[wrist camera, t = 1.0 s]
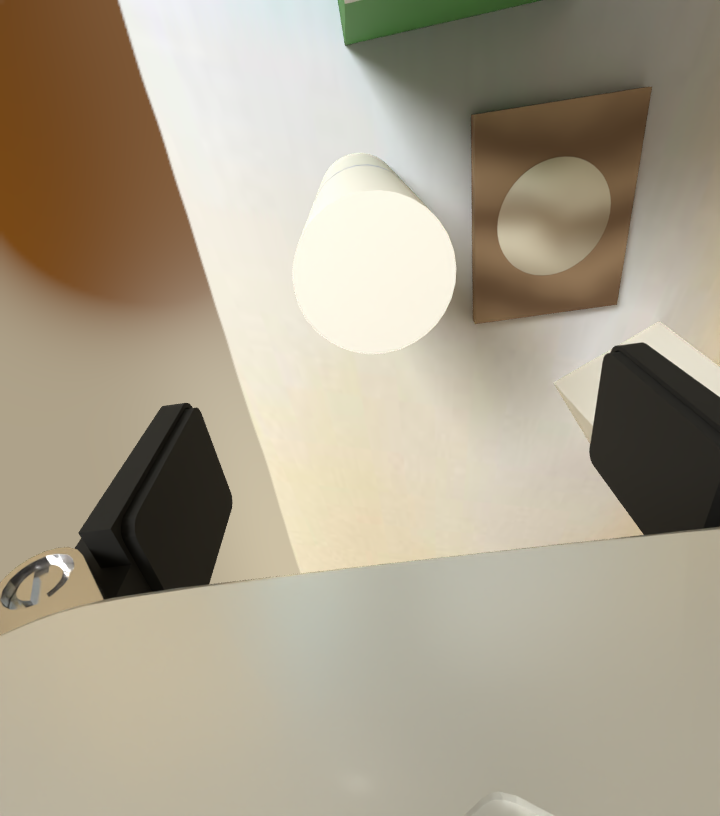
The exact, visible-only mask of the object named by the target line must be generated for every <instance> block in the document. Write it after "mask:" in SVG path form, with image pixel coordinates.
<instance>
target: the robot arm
mask: <svg viewBox="0 0 720 816" xmlns="http://www.w3.org/2000/svg"><path fill="white" fill-rule="evenodd" d="M589 452H590V458H591V461H592V464H593V465H594V467H595V468H596V470H597V471H598V472H599V474H600V475H601V476H602V478H603V479H604V481H605V482H606V483H607V485H608V486H609V487H610V489H611V490H612V492H613V493H614V494H615V496H616V497H617V498H618V500H619V501H620V503H621V504H622V505H623V507H624V508H625V509H626V511H627V512H628V513H629V515H630V516H631V518H632V519H633V520H634V522H635V523H636V524H637V526H638V527H639V529H640V530H641V531H642V533H643V534H644V535H640V536H630V537H621V538H612V539H603V540H593V541H584V542H575V543H566V544H557V545H548V546H539V547H530V548H521V549H512V550H504V551H495V552H486V553H477V554H468V555H459V556H450V557H441V558H432V559H423V560H415V561H406V562H397V563H388V564H380V565H371V566H362V567H353V568H345V569H336V570H327V571H318V572H310V573H301V574H293V575H284V576H276V577H268V578H259V579H251V580H242V581H233V582H225V583H218V584H209V583H210V579H211V576H212V573H213V569H214V566H215V563H216V559H217V556H218V553H219V549H220V546H221V543H222V539H223V536H224V533H225V529H226V526H227V523H228V519H229V516H230V513H231V509H232V495H231V492H230V489H229V487H228V484H227V481H226V478H225V476H224V473H223V470H222V468H221V465H220V463H219V460H218V457H217V454H216V452H215V449H214V446H213V443H212V441H211V438H210V435H209V433H208V430H207V428H206V425H205V422H204V420H203V417H202V414H201V412H200V410H199V409H198V408H192V406H191V405H190V404H188V403H182V404H175V405H167V406H162V407H161V408H160V410H159V411H158V413H157V415H156V416H155V417H154V419H153V420H152V422H151V423H150V425H149V427H148V428H147V430H146V431H145V433H144V434H143V436H142V437H141V439H140V440H139V442H138V443H137V445H136V446H135V448H134V449H133V451H132V452H131V454H130V455H129V457H128V458H127V460H126V462H125V463H124V464H123V466H122V468H121V469H120V470H119V472H118V473H117V475H116V477H115V478H114V480H113V481H112V483H111V484H110V486H109V487H108V489H107V490H106V492H105V493H104V495H103V496H102V498H101V499H100V501H99V502H98V504H97V506H96V507H95V508H94V510H93V511H92V513H91V515H90V516H89V518H88V519H87V521H86V522H85V524H84V525H83V527H82V528H81V530H80V531H79V535H80V536H81V540H80V541H79V543H78V544H77V546H76V547H75V549H73V548H70V547H64V548H55V549H52V550H48V551H44V552H42V553H40V554H38V555H36V556H33V557H31V558H30V559H28V560H26V561H25V562H23V563H22V564H20V565H19V566H17V567H16V568H15V569H14V570H12V571H11V572H10V573H9V574H8V575H7V576H6V577H5V578H4V579H3V580H2V581H1V582H0V816H720V397H719V396H718V395H716V394H715V393H714V392H712V391H711V390H709V389H708V388H707V387H705V386H704V385H703V384H701V383H700V382H698V381H697V380H696V379H694V378H693V377H691V376H690V375H689V374H687V373H686V372H685V371H683V370H682V369H680V368H679V367H678V366H676V365H675V364H674V363H672V362H671V361H669V360H668V359H667V358H665V357H664V356H663V355H661V354H660V353H658V352H657V351H656V350H654V349H653V348H651V347H650V346H649V345H647V344H646V343H643V342H641V343H633V344H626V345H618V346H615V347H613V348H612V350H611V352H610V353H607V354H606V355H605V356H604V358H603V362H602V369H601V376H600V382H599V389H598V396H597V402H596V409H595V416H594V422H593V429H592V436H591V442H590V451H589Z"/></svg>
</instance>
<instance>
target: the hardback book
mask: <svg viewBox="0 0 720 816" xmlns="http://www.w3.org/2000/svg"><path fill="white" fill-rule="evenodd" d="M537 1H541V0H338V5H339V11H340V17H341V24H342V30H343V36H344V43H345V45H349V44H353V43H358V42H362V41H366V40H371V39H375V38H379V37H384V36H388V35H393V34H397V33H401V32H406V31H410V30H414V29H419V28H423V27H427V26H432V25H436V24H441V23H445V22H449V21H454V20H458V19H462V18H467V17H471V16H475V15H480V14H484V13H489V12H493V11H497V10H502V9H506V8H510V7H515V6H519V5H523V4H528V3H532V2H537Z"/></svg>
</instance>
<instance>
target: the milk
mask: <svg viewBox="0 0 720 816" xmlns="http://www.w3.org/2000/svg"><path fill="white" fill-rule="evenodd" d="M641 342H643V343H646V344H647V345H649V346H650V347H651V348H653V349H654V350H656V351H657V352H658V353H660V354H661V355H663V356H664V357H665V358H667V359H668V360H669V361H671V362H672V363H674V364H675V365H676V366H678V367H679V368H680V369H682V370H683V371H685V372H686V373H687V374H689V375H690V376H691V377H693V378H694V379H696V380H697V381H698V382H700V383H701V384H703V385H704V386H705V387H707V388H708V389H709V390H711V391H712V392H714V393H715V394H716V395H718V396H719V397H720V367H719V366H718V365H716V364H715V363H714V362H712V361H711V360H710V359H709V358H707V357H706V356H705V355H703V354H702V353H701V352H699V351H698V350H697V349H695V348H694V347H693V346H691V345H690V344H689V343H688V342H686V341H685V340H684V339H682V338H681V337H680V336H678V335H677V334H676V333H674V332H673V331H672V330H670V329H669V328H668V327H667V326H665V325H664V324H663V323H661V322H660V321H659V322H657V323H656V324H654V325H652V326H650V327H649V328H647V329H645V330H643V331H642V332H640V333H638V334H637V335H635V336H633V337H631V338H630V339H628V340H626V341H625V342H623V343H621V344H619V345H626V344H633V343H641ZM611 350H612V349H611ZM611 350H609V351H607V352H606V353H604V354H602V355H600V356H599V357H597V358H595V359H594V360H592V361H590V362H588V363H587V364H585V365H583V366H581V367H580V368H578V369H576V370H575V371H573V372H571V373H569V374H568V375H566V376H564V377H563V378H561V379H559V380H557V381H556V382H554V385H555V386H556V388H557V390H558V391H559V393H560V395H561V396H562V398H563V400H564V401H565V403H566V405H567V406H568V408H569V410H570V411H571V413H572V415H573V416H574V418H575V420H576V421H577V423H578V425H579V426H580V428H581V430H582V431H583V433H584V435H585V436H586V438H587V440H588V441H589V443H590V442H591V436H592V429H593V422H594V416H595V409H596V402H597V396H598V389H599V382H600V376H601V369H602V362H603V358H604V356H605V355H606V354H607V353H610V352H611Z"/></svg>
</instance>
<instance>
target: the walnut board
mask: <svg viewBox="0 0 720 816" xmlns="http://www.w3.org/2000/svg"><path fill="white" fill-rule="evenodd" d="M651 90H652V87H643V88H637V89H631V90H624V91H618V92H612V93H605V94H599V95H593V96H587V97H580V98H574V99H568V100H561V101H555V102H549V103H543V104H536V105H530V106H524V107H518V108H511V109H505V110H499V111H492V112H486V113H480V114H474V115H471V163H472V282H473V321H474V322H475V324H479V323H486V322H493V321H501V320H508V319H515V318H522V317H530V316H537V315H544V314H551V313H559V312H566V311H573V310H581V309H588V308H595V307H602V306H610V305H617V301H618V294H619V288H620V282H621V276H622V270H623V263H624V257H625V251H626V245H627V239H628V232H629V226H630V220H631V214H632V208H633V201H634V195H635V189H636V183H637V177H638V170H639V164H640V158H641V152H642V146H643V139H644V133H645V127H646V121H647V115H648V108H649V102H650V96H651Z"/></svg>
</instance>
